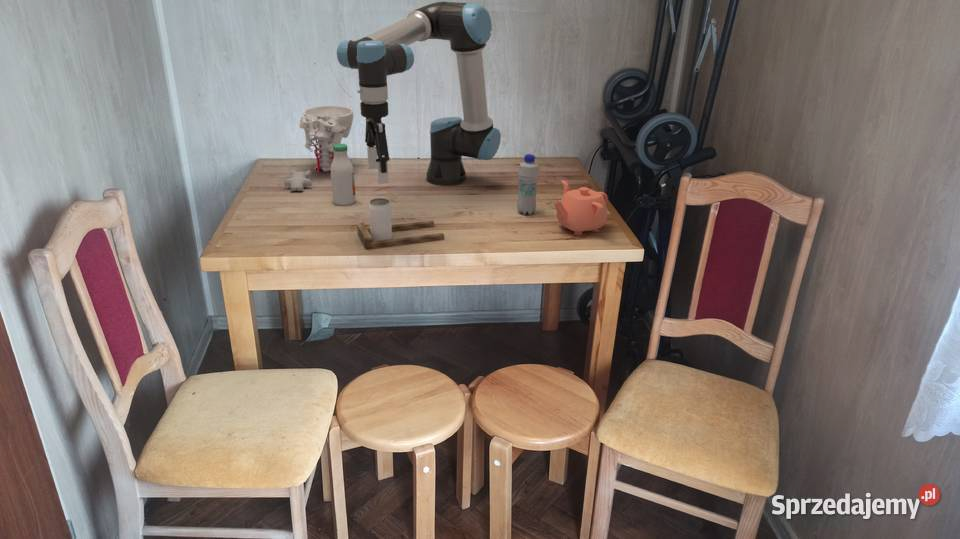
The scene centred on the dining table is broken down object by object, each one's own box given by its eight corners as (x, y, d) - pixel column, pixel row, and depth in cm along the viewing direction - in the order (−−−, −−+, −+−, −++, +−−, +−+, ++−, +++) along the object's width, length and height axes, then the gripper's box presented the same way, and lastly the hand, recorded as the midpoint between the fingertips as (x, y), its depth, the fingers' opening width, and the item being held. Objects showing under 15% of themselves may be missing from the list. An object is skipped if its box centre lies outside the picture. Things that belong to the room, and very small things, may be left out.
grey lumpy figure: (281, 182, 226) (287, 165, 238) (283, 195, 229) (289, 177, 241) (309, 182, 227) (313, 164, 239) (310, 195, 230) (315, 177, 242)
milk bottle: (350, 206, 217) (346, 149, 208) (329, 204, 218) (324, 147, 209) (359, 199, 224) (355, 142, 215) (338, 197, 225) (333, 141, 216)
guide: (432, 224, 204) (432, 214, 203) (444, 239, 194) (444, 228, 193) (357, 233, 196) (356, 223, 195) (365, 249, 186) (364, 238, 185)
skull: (313, 161, 261) (308, 105, 251) (360, 162, 262) (356, 105, 252) (300, 181, 239) (293, 120, 229) (351, 182, 240) (346, 121, 230)
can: (371, 234, 196) (369, 197, 191) (392, 234, 196) (391, 197, 191) (369, 243, 190) (367, 205, 185) (391, 243, 191) (390, 205, 185)
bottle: (538, 210, 218) (542, 152, 209) (533, 217, 212) (536, 158, 203) (519, 207, 219) (522, 150, 211) (513, 214, 214) (516, 156, 205)
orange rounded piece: (550, 234, 199) (554, 193, 193) (558, 215, 214) (561, 176, 208) (603, 241, 196) (608, 199, 190) (607, 221, 210) (611, 181, 204)
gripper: (351, 92, 184) (357, 164, 194) (369, 112, 163) (374, 191, 173) (377, 91, 187) (381, 162, 196) (398, 110, 166) (401, 188, 175)
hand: (378, 175), depth 185 cm, fingers open, 13 cm apart
